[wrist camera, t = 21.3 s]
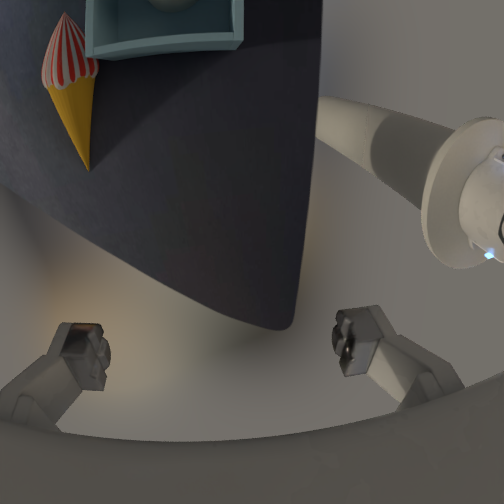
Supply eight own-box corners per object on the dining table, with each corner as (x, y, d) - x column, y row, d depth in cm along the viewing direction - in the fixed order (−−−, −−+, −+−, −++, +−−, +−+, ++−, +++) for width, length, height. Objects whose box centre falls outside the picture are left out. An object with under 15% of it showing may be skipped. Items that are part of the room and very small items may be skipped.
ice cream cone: (92, 156, 37) (72, 11, 23) (123, 165, 35) (105, 2, 21) (56, 179, 33) (26, 24, 19) (85, 191, 31) (54, 12, 17)
